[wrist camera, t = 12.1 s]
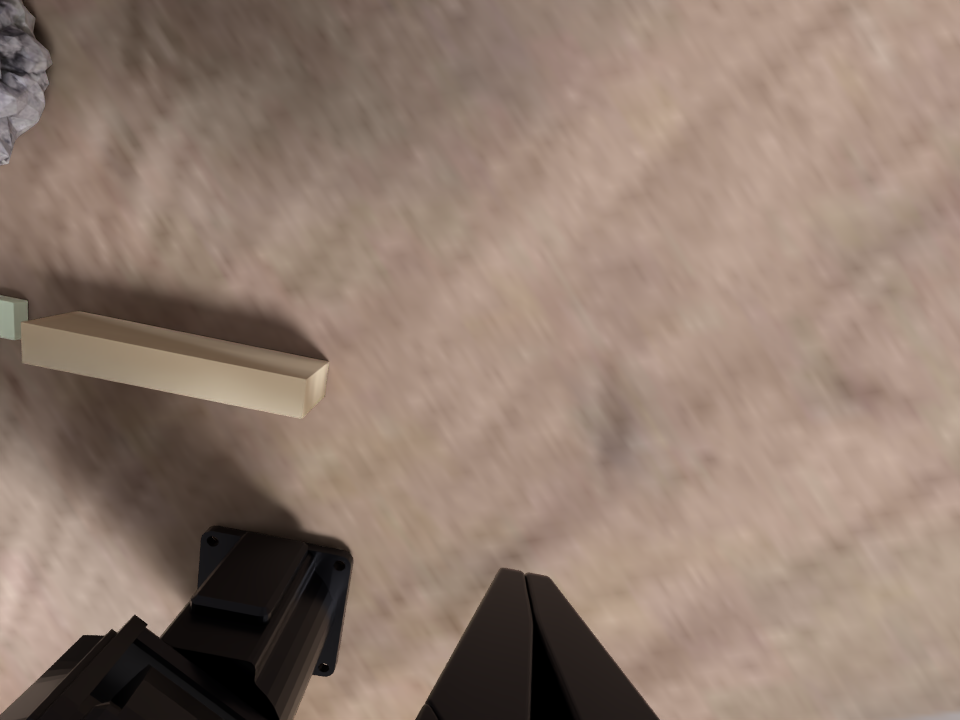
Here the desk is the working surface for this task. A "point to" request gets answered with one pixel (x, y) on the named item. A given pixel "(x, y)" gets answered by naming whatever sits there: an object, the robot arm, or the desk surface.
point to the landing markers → (12, 317)
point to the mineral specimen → (19, 75)
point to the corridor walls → (175, 362)
